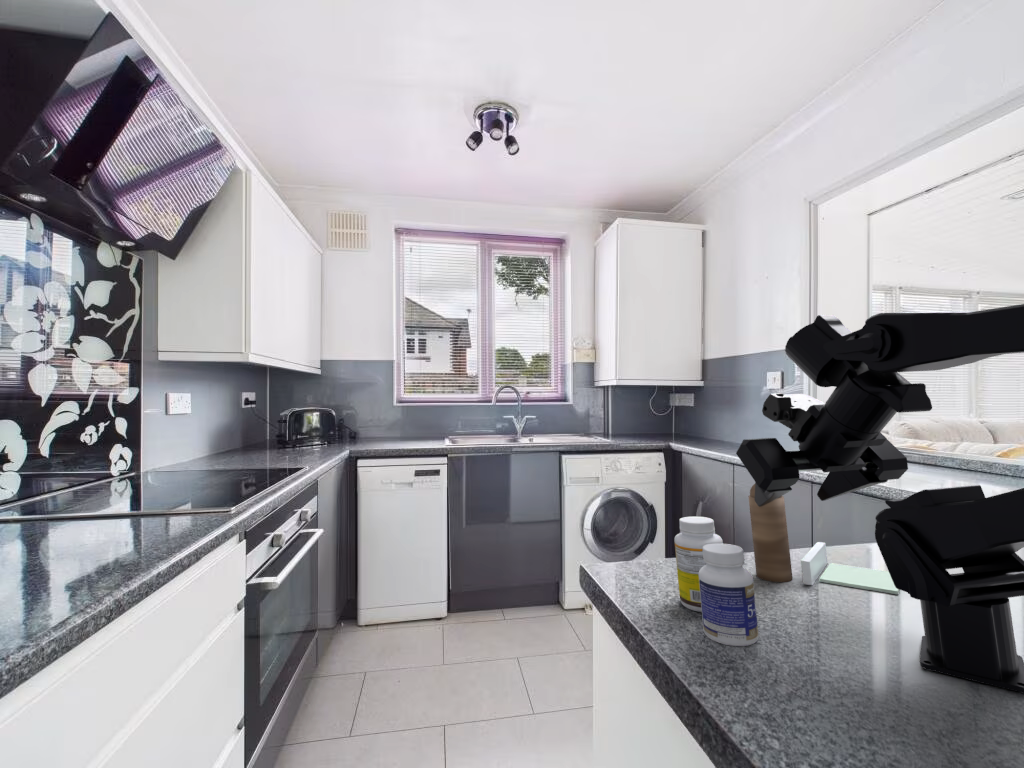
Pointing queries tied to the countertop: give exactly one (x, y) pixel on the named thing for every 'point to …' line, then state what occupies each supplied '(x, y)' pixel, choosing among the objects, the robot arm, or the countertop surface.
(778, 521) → the pepper mill
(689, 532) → the supplement bottle
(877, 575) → the coaster
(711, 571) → the pill bottle
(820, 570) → the rail
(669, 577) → the countertop surface
